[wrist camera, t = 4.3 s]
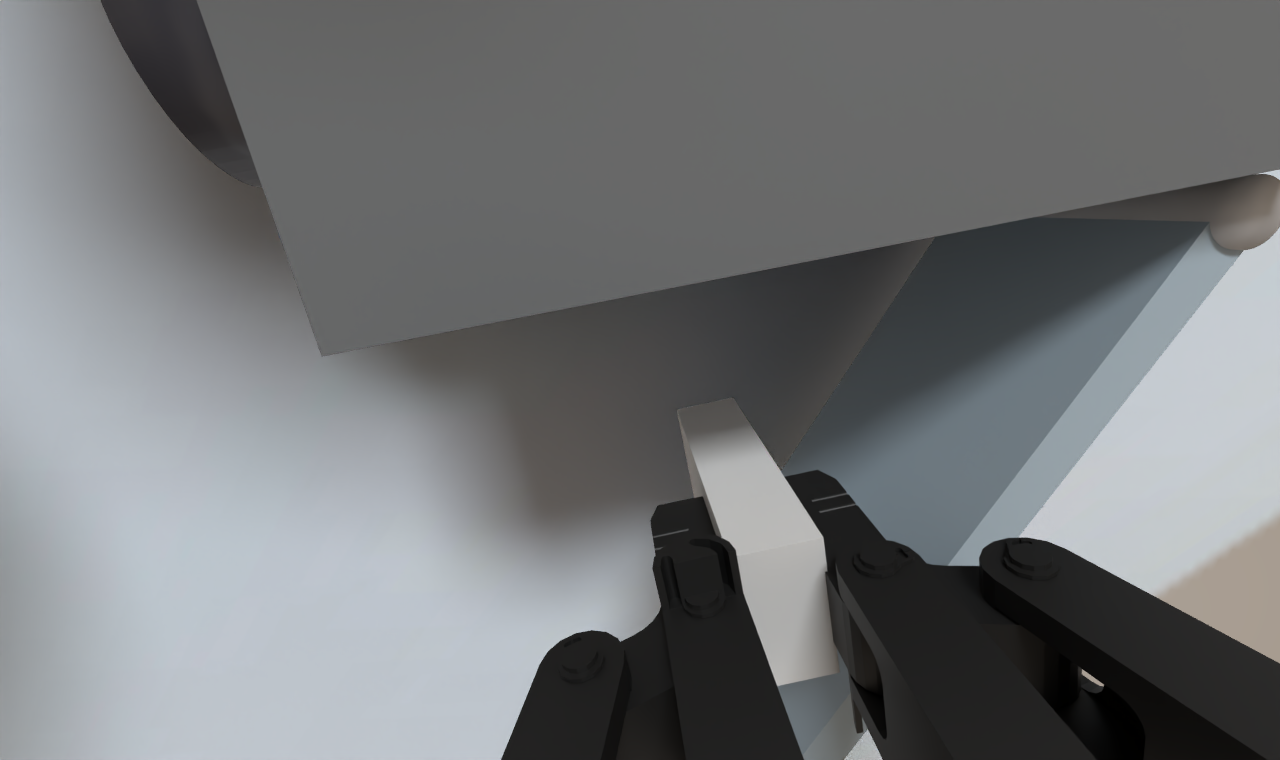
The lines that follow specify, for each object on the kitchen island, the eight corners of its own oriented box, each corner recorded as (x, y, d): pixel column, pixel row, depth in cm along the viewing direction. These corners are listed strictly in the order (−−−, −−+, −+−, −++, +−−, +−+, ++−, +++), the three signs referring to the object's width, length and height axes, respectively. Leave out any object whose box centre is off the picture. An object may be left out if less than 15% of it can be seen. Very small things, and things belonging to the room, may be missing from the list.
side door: (757, 574, 19) (851, 791, 12) (718, 555, 18) (790, 767, 11) (1006, 207, 16) (1317, 209, 9) (964, 180, 16) (1252, 160, 9)
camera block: (379, 299, 16) (84, 426, 7) (272, -40, 14) (-385, -535, 5) (965, 185, 17) (1445, 160, 7) (957, -169, 14) (1652, -892, 5)
